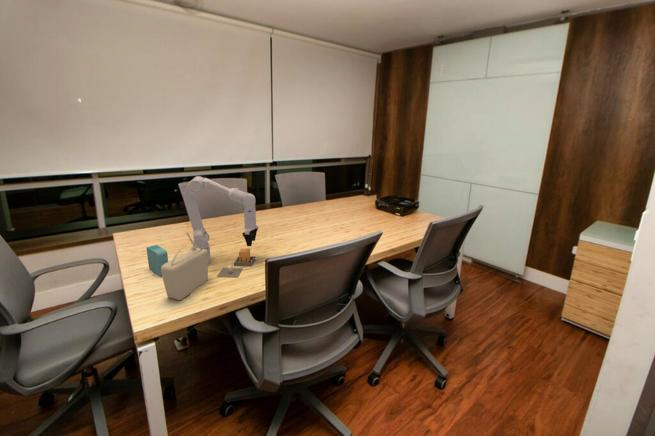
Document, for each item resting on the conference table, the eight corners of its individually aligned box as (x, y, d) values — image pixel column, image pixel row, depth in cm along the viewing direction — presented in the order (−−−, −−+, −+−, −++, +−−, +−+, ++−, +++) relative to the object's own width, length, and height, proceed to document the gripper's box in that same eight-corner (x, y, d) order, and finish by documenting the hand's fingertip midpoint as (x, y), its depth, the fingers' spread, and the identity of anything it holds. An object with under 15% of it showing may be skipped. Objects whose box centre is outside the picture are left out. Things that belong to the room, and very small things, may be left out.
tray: (234, 267, 162) (233, 262, 161) (238, 260, 171) (238, 255, 170) (251, 267, 162) (251, 263, 162) (255, 260, 171) (255, 256, 170)
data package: (170, 274, 153) (167, 250, 149) (160, 277, 150) (157, 253, 146) (158, 266, 160) (155, 243, 157) (149, 269, 157) (145, 246, 153)
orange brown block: (248, 265, 164) (247, 252, 162) (239, 264, 164) (238, 251, 162) (250, 261, 168) (250, 248, 166) (241, 261, 168) (241, 248, 166)
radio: (196, 277, 151) (191, 226, 144) (211, 280, 149) (207, 228, 142) (160, 300, 131) (152, 242, 124) (177, 304, 128) (170, 245, 121)
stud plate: (216, 278, 150) (215, 269, 149) (223, 269, 160) (222, 261, 158) (237, 279, 150) (237, 270, 149) (243, 269, 160) (243, 261, 158)
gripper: (254, 222, 156) (255, 248, 160) (261, 214, 170) (261, 238, 174) (240, 222, 156) (241, 248, 160) (247, 213, 170) (248, 238, 174)
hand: (251, 243), depth 167 cm, fingers open, 7 cm apart
